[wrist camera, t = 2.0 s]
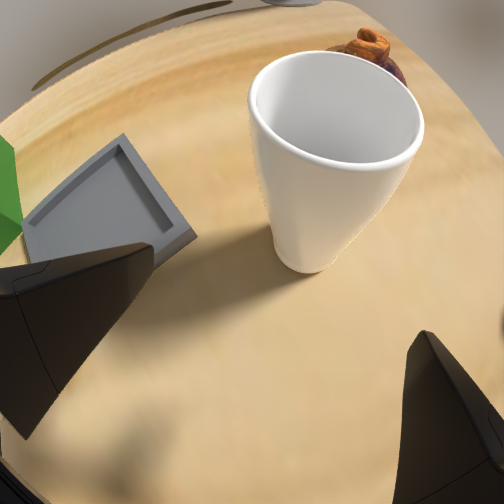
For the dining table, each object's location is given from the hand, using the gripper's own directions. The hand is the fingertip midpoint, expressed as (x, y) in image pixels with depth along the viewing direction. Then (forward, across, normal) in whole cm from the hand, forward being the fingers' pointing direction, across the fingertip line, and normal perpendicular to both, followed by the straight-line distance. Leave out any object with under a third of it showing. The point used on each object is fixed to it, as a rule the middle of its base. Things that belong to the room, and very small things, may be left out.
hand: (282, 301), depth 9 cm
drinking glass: (+15, 0, +4) cm, 15 cm away
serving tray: (+11, +18, +8) cm, 23 cm away
